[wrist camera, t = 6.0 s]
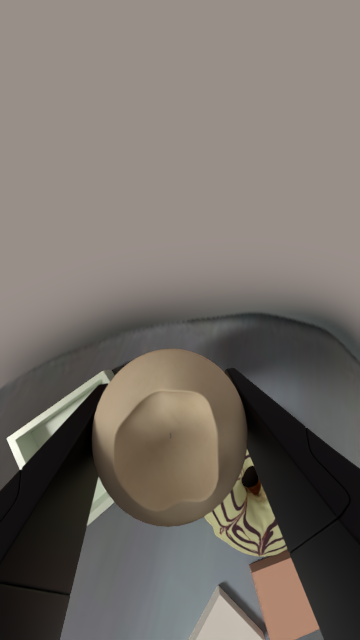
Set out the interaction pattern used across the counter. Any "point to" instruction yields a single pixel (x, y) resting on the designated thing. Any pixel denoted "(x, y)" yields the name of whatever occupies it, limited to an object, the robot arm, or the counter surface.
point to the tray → (48, 422)
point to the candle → (169, 437)
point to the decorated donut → (247, 519)
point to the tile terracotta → (282, 598)
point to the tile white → (225, 621)
